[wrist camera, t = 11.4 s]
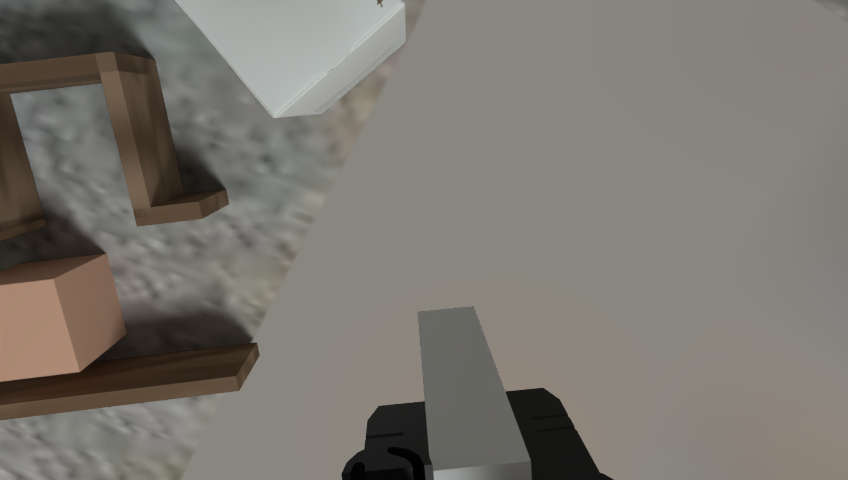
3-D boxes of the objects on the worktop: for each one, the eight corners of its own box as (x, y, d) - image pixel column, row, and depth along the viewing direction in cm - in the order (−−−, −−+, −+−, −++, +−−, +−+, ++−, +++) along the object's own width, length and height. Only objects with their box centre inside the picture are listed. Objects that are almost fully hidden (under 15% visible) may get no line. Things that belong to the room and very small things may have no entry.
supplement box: (330, -62, 39) (288, -163, 25) (408, 41, 41) (413, 3, 26) (237, 22, 40) (144, -29, 26) (318, 118, 42) (274, 122, 28)
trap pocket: (-12, 79, 40) (-81, 73, 35) (154, 59, 41) (113, 51, 35) (29, 220, 43) (-29, 237, 37) (186, 201, 43) (152, 215, 37)
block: (20, 263, 44) (-50, 291, 37) (107, 253, 44) (53, 279, 37) (44, 343, 45) (-19, 384, 39) (127, 333, 46) (79, 371, 39)
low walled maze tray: (-113, 229, 43) (-195, 248, 37) (226, 189, 43) (198, 201, 37) (-54, 393, 46) (-121, 435, 40) (259, 355, 46) (239, 390, 41)
